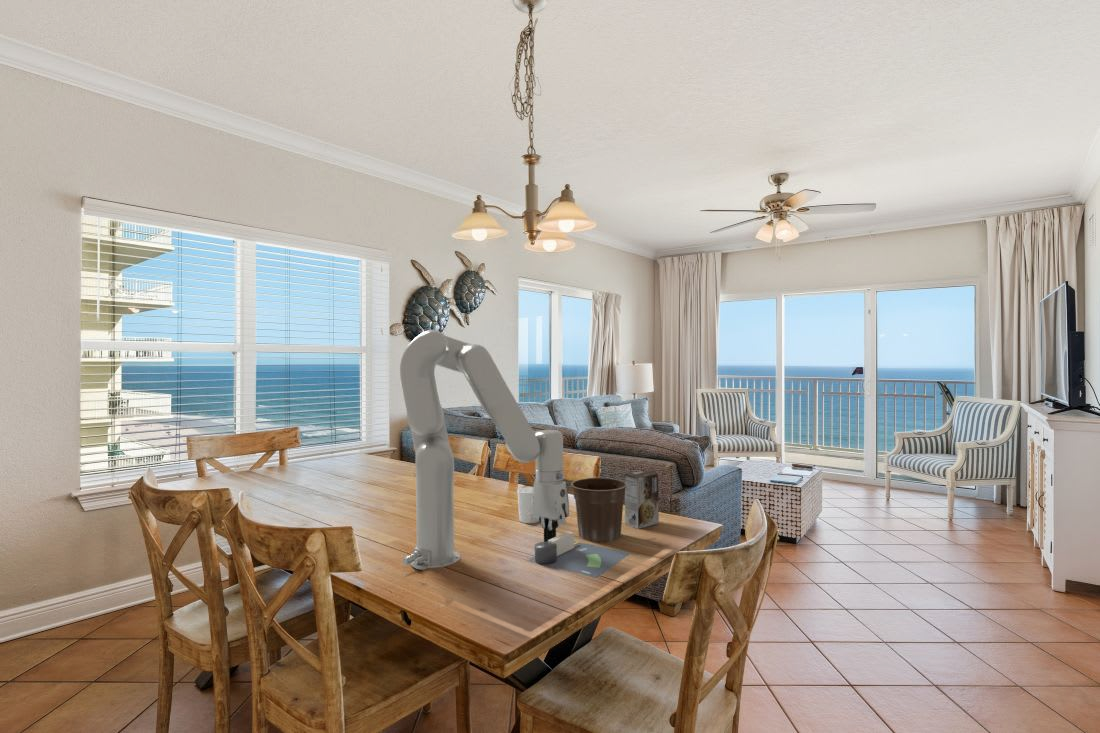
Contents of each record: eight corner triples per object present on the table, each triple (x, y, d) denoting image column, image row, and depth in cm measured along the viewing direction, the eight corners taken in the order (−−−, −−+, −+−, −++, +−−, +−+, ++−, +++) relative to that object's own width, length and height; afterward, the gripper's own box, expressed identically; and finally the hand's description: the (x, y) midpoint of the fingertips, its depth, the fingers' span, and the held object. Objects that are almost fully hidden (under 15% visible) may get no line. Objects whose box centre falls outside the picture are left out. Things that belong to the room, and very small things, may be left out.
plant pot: (559, 537, 160) (559, 482, 160) (598, 525, 170) (598, 474, 170) (599, 552, 148) (599, 493, 147) (638, 539, 158) (638, 483, 158)
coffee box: (644, 518, 177) (644, 469, 177) (659, 523, 172) (659, 473, 172) (623, 524, 172) (623, 473, 172) (638, 529, 167) (638, 476, 167)
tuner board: (596, 581, 128) (596, 577, 128) (527, 564, 139) (527, 560, 139) (630, 556, 144) (630, 552, 144) (566, 542, 155) (566, 538, 155)
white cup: (543, 517, 180) (543, 487, 180) (540, 524, 172) (540, 493, 172) (519, 516, 181) (519, 486, 181) (515, 523, 173) (515, 492, 173)
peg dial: (547, 565, 135) (547, 548, 135) (530, 560, 139) (530, 543, 139) (586, 545, 149) (586, 530, 149) (570, 541, 152) (570, 526, 152)
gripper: (579, 477, 146) (579, 545, 146) (539, 469, 156) (539, 533, 156) (560, 482, 140) (561, 553, 141) (520, 474, 150) (521, 540, 151)
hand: (550, 542), depth 149 cm, fingers closed
